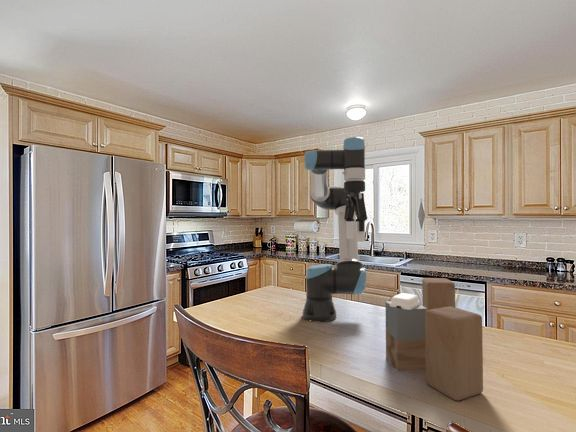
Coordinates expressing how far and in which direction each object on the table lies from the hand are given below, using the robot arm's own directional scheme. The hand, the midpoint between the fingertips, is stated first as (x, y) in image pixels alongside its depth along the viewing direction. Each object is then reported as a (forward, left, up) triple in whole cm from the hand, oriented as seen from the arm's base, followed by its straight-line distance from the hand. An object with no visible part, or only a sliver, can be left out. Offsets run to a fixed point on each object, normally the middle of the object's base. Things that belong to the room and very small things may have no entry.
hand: (355, 239), depth 117 cm
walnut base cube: (+19, +10, -37) cm, 42 cm away
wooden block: (-7, +35, -37) cm, 51 cm away
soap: (+19, +10, -19) cm, 29 cm away
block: (+34, +16, -37) cm, 53 cm away
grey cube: (+19, +10, -28) cm, 35 cm away
